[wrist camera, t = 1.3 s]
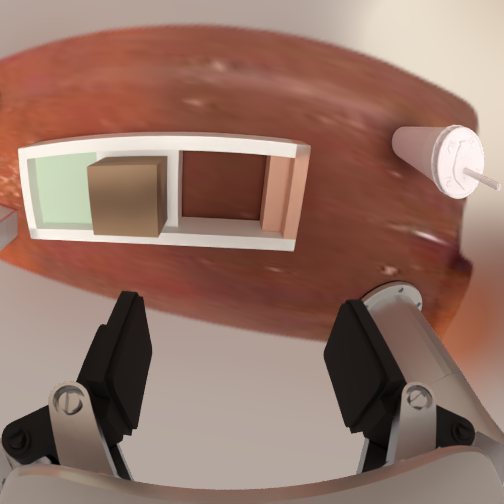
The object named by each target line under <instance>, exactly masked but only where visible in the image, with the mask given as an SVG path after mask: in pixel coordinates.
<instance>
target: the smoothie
mask: <svg viewBox="0 0 504 504" xmlns="http://www.w3.org/2000/svg"><path fill="white" fill-rule="evenodd" d="M392 148H393V150H394V152H395V154H396V155H397V156H398V157H400V158H401V159H403V160H404V161H406V162H407V163H409V164H410V165H412V166H413V167H414V168H416V169H417V170H419V171H420V172H421V173H423V174H424V175H425V176H427V177H428V178H429V179H431V180H432V181H433V182H435V184H436V186H437V187H438V188H439V190H440V191H441V192H443V193H444V194H446V195H449V196H450V197H452V198H456V199H461V198H464V197H466V196H468V195H470V194H471V193H472V192H473V191H474V190H475V188H476V187H477V185H478V184H479V182H482V183H484V184H486V185H488V186H490V187H492V188H494V189H496V190H498V191H499V190H500V188H501V185H500V184H499V183H497V182H495V181H493V180H491V179H489V178H487V177H485V176H483V175H482V174H483V169H484V152H483V147H482V144H481V142H480V140H479V138H478V136H477V135H476V134H475V133H474V132H473V131H472V130H470V129H468V128H465V127H463V126H461V125H452V126H449V127H447V128H444V127H400V128H398V129H397V130H396V131H395V133H394V134H393V137H392Z"/></svg>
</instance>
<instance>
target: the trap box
mask: <svg viewBox="0 0 504 504" xmlns="http://www.w3.org/2000/svg"><path fill="white" fill-rule="evenodd" d="M183 150H192V151H217V152H235V153H249V154H261V155H267V159H266V168H265V177H264V186H263V194H262V203H261V212H260V220H259V221H255V220H238V219H220V218H199V217H182V167H183ZM310 150H311V146H310V145H308V144H306V143H304V142H302V141H300V140H293V139H285V138H276V137H267V136H256V135H244V134H230V133H211V132H131V133H113V134H99V135H88V136H78V137H69V138H61V139H54V140H47V141H41V142H37V143H34V144H31V145H28V146H25V147H22V148H19V149H18V155H19V167H20V176H21V184H22V192H23V198H24V205H25V210H26V216H27V221H28V226H29V231H30V235H31V239H50V240H73V241H95V242H117V243H139V244H160V245H181V246H202V247H223V248H243V249H264V250H283V251H294V247H295V241H296V236H297V230H298V225H299V219H300V213H301V207H302V201H303V195H304V189H305V183H306V176H307V170H308V163H309V157H310ZM118 156H167V217H168V219H167V221H166V223H165V225H164V227H163V229H162V231H161V233H160V235H159V238H156V237H132V236H107V235H94V232H93V225H92V218H91V210H90V200H89V190H88V178H87V166H89V165H91V164H93V163H95V162H97V161H99V160H101V159H103V158H105V157H118Z"/></svg>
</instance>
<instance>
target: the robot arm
mask: <svg viewBox="0 0 504 504" xmlns="http://www.w3.org/2000/svg"><path fill="white" fill-rule="evenodd" d="M421 309H422V297H421V294H420V293H419V291H418V290H417V289H416V288H415V286H413V285H412V284H410V283H407V282H400V281H398V282H391V283H388V284H385V285H382V286H380V287H378V288H376V289H374V290H373V291H371V292H370V293H368V294H367V295H366V296H365V297H363V298H362V299H361V300H346V302H345V303H343V304H342V305H341V306H340V309H339V312H338V315H337V318H336V321H335V323H334V326H333V329H332V331H331V334H330V337H329V339H328V342H327V345H326V347H325V350H324V360H325V363H326V366H327V370H328V372H329V376H330V379H331V382H332V385H333V388H334V391H335V394H336V398H337V401H338V404H339V407H340V411H341V414H342V417H343V420H344V423H345V426H346V427H349V428H350V431H351V433H357V432H363V434H364V437H365V441H364V445H363V449H362V453H361V458H360V461H359V465H358V469H357V473H356V475H353V476H348V477H344V478H339V479H334V480H329V481H323V482H318V483H311V484H305V485H298V486H289V487H280V488H268V489H250V490H209V489H208V490H207V489H191V488H179V487H170V486H161V485H154V484H148V483H141V482H135V481H134V479H133V477H132V475H131V472H130V470H129V468H128V466H127V463H126V461H125V458H124V455H123V453H122V450H121V448H120V445H119V442H121V441H122V440H123V435H130V436H131V435H132V429H137V427H138V421H139V416H140V410H141V405H142V400H143V395H144V390H145V385H146V380H147V375H148V370H149V366H150V362H151V357H152V344H151V340H150V334H149V329H148V324H147V318H146V313H145V306H144V300H143V297H141V296H139V295H138V293H137V292H129V291H122V292H121V294H120V296H119V298H118V300H117V302H116V304H115V307H114V309H113V311H112V314H111V316H110V318H109V320H108V323H107V325H104V324H102V325H100V326H99V328H98V330H97V332H96V334H95V337H94V339H93V341H92V344H91V346H90V348H89V351H88V353H87V355H86V358H85V360H84V363H83V365H82V368H81V371H80V373H79V376H78V378H77V381H76V382H72V381H70V382H63V383H60V384H59V385H57V386H56V387H54V389H53V390H52V391H51V393H50V396H49V405H47V406H45V407H43V408H40V409H39V410H37V411H35V412H32V413H31V414H28V415H26V416H24V417H22V418H20V419H18V420H16V421H14V422H11V423H10V424H8V425H7V426H6V428H5V429H4V431H3V434H2V438H1V439H0V504H504V433H503V432H502V430H501V429H500V428H499V427H498V425H497V424H496V423H495V421H494V420H493V419H492V418H491V416H490V415H489V413H488V412H487V410H486V409H485V408H484V406H483V405H482V403H481V402H480V400H479V399H478V397H477V395H476V394H475V392H474V391H473V389H472V387H471V386H470V384H469V383H468V381H467V379H466V378H465V376H464V374H463V373H462V371H461V370H460V368H459V367H458V365H457V363H456V362H455V360H454V359H453V357H452V356H451V354H450V353H449V351H448V350H447V348H446V347H445V345H444V344H443V342H442V341H441V339H440V338H439V336H438V335H437V334H436V332H435V331H434V329H433V328H432V326H431V325H430V324H429V322H428V321H427V319H426V318H425V317H424V315H423V314H422V313H421Z"/></svg>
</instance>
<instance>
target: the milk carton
mask: <svg viewBox="0 0 504 504" xmlns="http://www.w3.org/2000/svg"><path fill="white" fill-rule="evenodd" d="M17 236H18V225H17V210H16V209H13V208H10V207H8V206H5V205H2V204H0V251H1V250H2V249H3V248H4V247H5V246H6V245H8V244H9V243H10V242H11V241H12V240H13V239H14V238H15V237H17Z"/></svg>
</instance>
